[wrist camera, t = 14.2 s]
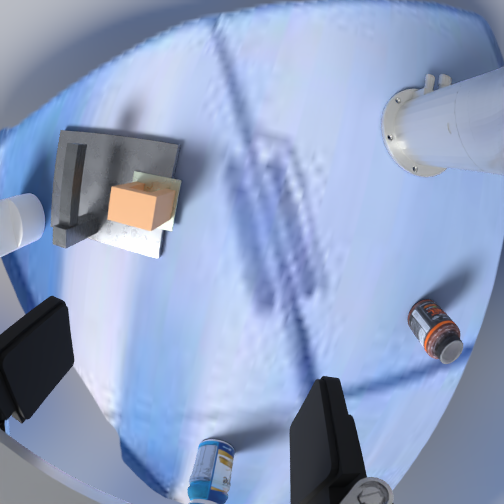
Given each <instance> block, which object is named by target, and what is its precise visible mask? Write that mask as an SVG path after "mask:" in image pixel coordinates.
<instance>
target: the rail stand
mask: <svg viewBox="0 0 504 504" xmlns="http://www.w3.org/2000/svg"><path fill="white" fill-rule="evenodd" d="M180 146H181V145H177V144H171V143H165V142H159V141H152V140H146V139H139V138H132V137H124V136H116V135H108V134H99V133H89V132H77V131H64V130H61V132H60V137H59V143H58V150H57V156H56V164H55V172H54V182H53V193H52V208H51V227H53V244H54V245H57V246H60V247H63V248H68V247H70V246H72V245H74V244H76V243H78V242H80V241H82V240H84V239H86V238H89V239H92V240H95V241H99V242H102V243H105V244H109V245H112V246H115V247H119V248H122V249H126V250H129V251H133V252H136V253H140V254H143V255H147V256H150V257H154V258H157V259H158V258H160V257H161V250H162V243H163V236H164V230H167V231H171V232H172V231H173V225H174V219H175V214H176V208H177V203H178V197H179V192H180V187H181V182H182V180H177V179H174V174H175V169H176V165H177V160H178V155H179V151H180ZM131 182H140V183H145V185H144V191H146V192H151V193H152V192H155V191H158V190H162V189H165V188H167V189H171V190H175V191H176V192H175V197H174V202H173V207H172V213H171V218H170V220H169V221H167V222H166V223H164V224H162V225H161V226H159V227H157V228H156V229H154V230H153V231H148V230H144V229H140V228H137V227H133V226H129V225H126V224H122V223H118V222H115V221H111V220H107V218H108V210H109V202H110V194H111V187H112V186H117V185H121V184H126V183H131Z"/></svg>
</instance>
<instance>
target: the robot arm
mask: <svg viewBox="0 0 504 504" xmlns="http://www.w3.org/2000/svg"><path fill="white" fill-rule="evenodd" d="M451 81H452V79H451V77H449V76H448V75H445V74H440V75H439V82H438V86H439V87H438V90H435V91H433V87H434V83H435V77H434V76H433V75H431V74H426V77H425V87H424V88H422V89H406V90H403V91H401V92H399V93H397V94H395V95H394V96H393V97H392V98H391V99H390V100H389V101H388V103H387V104H386V106H385V108H384V111H383V114H382V119H381V130H382V137H383V140H384V144H385V146H386V148H387V150H388V153H389V154H390V156H391V157H392V159H393V160H394V161H395V162H396V163H397V164H398V165H399V166H400V167H401V168H402V169H404V170H405V171H406V172H408V173H410V174H413V175H416V176H420V177H433V176H436V175H439V174H441V173H442V172H444V171H445V170H446V169H447V168H451V169H460V170H468V171H475V172H482V173H489V174H496V175H504V66H503V67H501V68H498V69H495V70H493V71H490V72H487V73H485V74H482V75H479V76H475V77H472V78H470V79H467V80H464V81H461V82H458V83H455V84H452V85H451ZM395 100H396V101H397V103H396V101H395ZM388 136H389V139H388ZM413 167H414V170H413ZM73 364H74V354H73V347H72V340H71V332H70V323H69V313H68V307H67V306H66V304H65V302H64V301H63V300H61V299H59V298H56V297H54V296H50V297H49V298H47V299H46V300H44V301H43V302H42V303H40V304H39V305H38V306H36V307H35V308H34V309H32V310H31V311H30V312H28V313H27V314H26V315H24V316H23V317H22V318H21V319H19V320H18V321H17V322H16V323H14V324H13V325H12V326H10V327H9V328H8V329H7V330H6V331H4V332H3V333H2V334H1V335H0V504H132V503H130V502H127V501H124V500H122V499H119V498H117V497H115V496H112V495H110V494H107V493H105V492H103V491H101V490H98V489H96V488H94V487H92V486H90V485H88V484H86V483H84V482H82V481H80V480H78V479H76V478H74V477H73V476H71V475H69V474H67V473H65V472H63V471H62V470H60V469H58V468H57V467H55V466H53V465H51V464H50V463H48V462H47V461H45V460H43V459H42V458H40V457H39V456H37V455H35V454H34V453H33V452H31V451H30V450H28V449H27V448H25V447H24V446H22V445H21V444H19V443H18V442H17V441H16V440H14V439H13V438H11V437H10V429H9V417H10V416H11V415H12V417H14V418H15V419H16V420H18V421H19V422H20V423H23V422H24V421H25V420H26V419H30V418H31V416H32V415H33V414H34V413H35V411H36V410H37V409H38V408H39V406H40V405H41V404H42V402H43V401H44V400H45V399H46V397H47V396H48V395H49V394H50V393H51V391H52V390H53V389H54V388H55V386H56V385H57V384H58V383H59V382H60V380H61V379H62V378H63V377H64V375H65V374H66V373H67V372H68V371H69V370H70V368H71V367H72V366H73ZM290 485H291V504H393V503H392V502H393V492H392V489H391V488H390V486H389V485H388V484H387V483H386V482H385V481H383V480H381V479H379V478H374V477H368V478H367V475H366V470H365V466H364V461H363V457H362V452H361V448H360V443H359V439H358V435H357V430H356V426H355V422H354V419H353V417H352V416H351V415H348V411H347V407H346V403H345V399H344V395H343V390H342V386H341V382H340V380H339V378H334V377H327V376H323V377H322V378H321V379H317V380H316V381H315V382H314V384H313V386H312V388H311V390H310V392H309V394H308V395H307V397H306V399H305V401H304V403H303V405H302V406H301V408H300V410H299V412H298V414H297V415H296V417H295V419H294V421H293V422H292V424H291V427H290Z"/></svg>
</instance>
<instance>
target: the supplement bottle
mask: <svg viewBox="0 0 504 504" xmlns="http://www.w3.org/2000/svg"><path fill="white" fill-rule="evenodd" d="M408 325H409V327H410V328H411V330H412V331H413V333H414V334H415V336H416V337H417V339H418V340H419V342H420V343H421V345H422V346H423V348H424V349H425V350H426V352H427V353H428V355H429V356H430V357H432V358H435V359H440V361H441V362H442V363H444V364H448V363H451V362H453V361H454V360H456V359H457V358H458V357H459V356H460V354H461V352H462V350H463V343H462V341H461V340H460V330H459V328H458V326H457V325H456V324H455V323H454V322H453V321H452V320H451V319H450V317H449V316H448V315H447V314H446V313H445V312H444V311H443V310H442V309H441V308H440V307H439V306H438V305H437V304H436V303H435V302H434V301H432V300H429V299H426V300H422V301H419V302H418V303H416V304H415V305H414V306H413V308H412V309H411V310H410V312H409V315H408Z"/></svg>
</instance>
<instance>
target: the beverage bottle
mask: <svg viewBox="0 0 504 504" xmlns="http://www.w3.org/2000/svg"><path fill="white" fill-rule="evenodd" d="M234 453H235V451H234V448H233V447H232V446H231V445H230V444H228V443H227V442H224V441H221V440H216V439H208V440H204V441H202V442H201V443H200V444H199V447H198V453H197V457H196V460H195V464H194V468H193V472H192V475H191V476H190V480H189V483H190V486H189V487H188V496H189V498H190V501H191V502H190V503H189V504H224V503H225V502H226V500H227V498H228V494H227V492H228V491H229V489H230V480H231V472H232V465H233V458H234Z"/></svg>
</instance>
